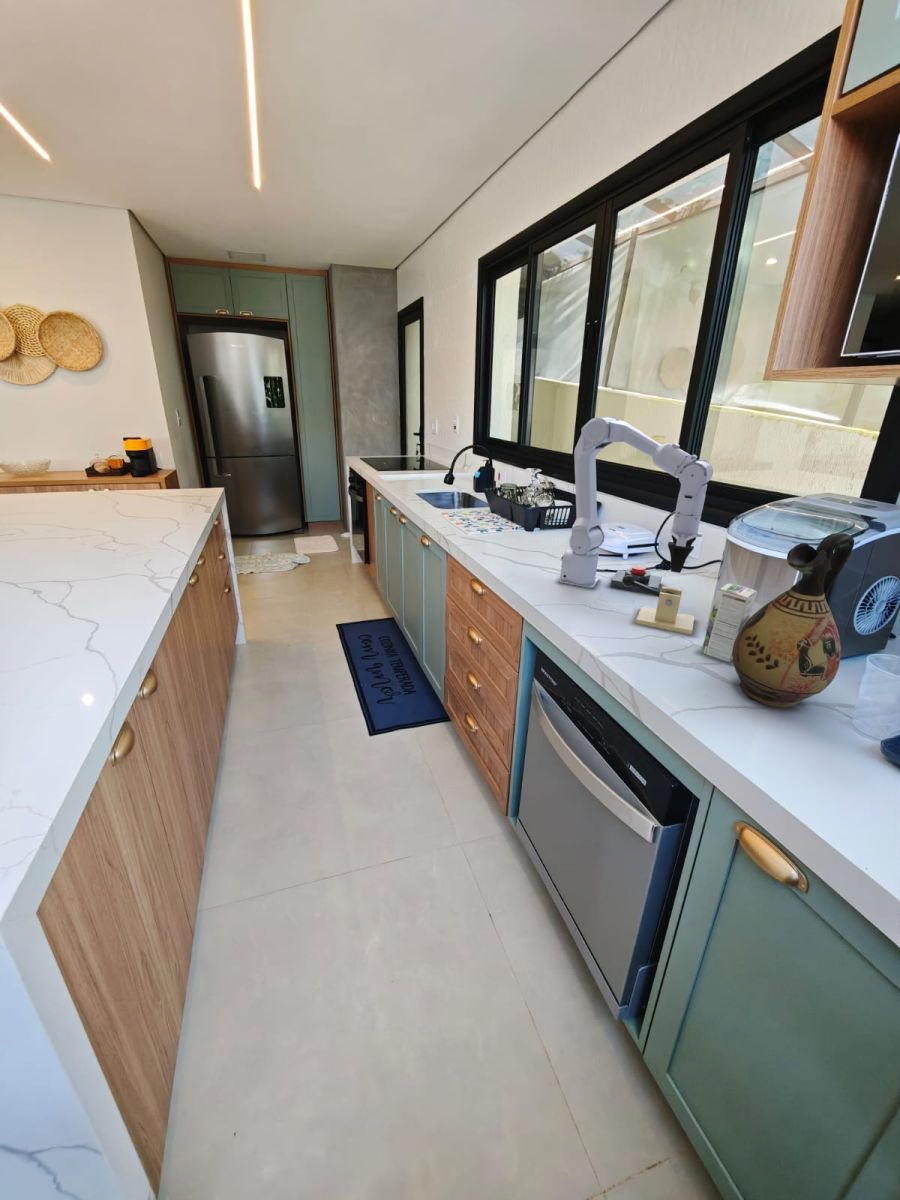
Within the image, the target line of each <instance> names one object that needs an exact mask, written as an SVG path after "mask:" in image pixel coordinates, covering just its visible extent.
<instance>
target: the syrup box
mask: <svg viewBox="0 0 900 1200" xmlns="http://www.w3.org/2000/svg"><path fill="white" fill-rule="evenodd" d="M757 594H758V591H757V590H755V589H752V588H749V587H746V586H744V585H738V584H734V583H727V584H725V585H724V586H723V587H721V588H719V589H718V590H717V591H716V595H715V599H714V601H713V602H714V603H713V606H712V611H711V614H710V618H709V621H708V625H707V629H706V634H705V636H704V640H703V643H702V647H701V651H700V652H701V654H704V655H706V656H709V657H712V658H715V659H718V660H721V661H724V662H728V663H731V662H733V656H732V651H733V645H734V642H735V639H736V637H737V635H738V634H739V632H740V631H741V629H742V628H743V626H744V625H745V623H746V622H747V621H748V620H749V619H750V617H751V616H752V612H753V608H754V603H755V602H756V598H757Z"/></svg>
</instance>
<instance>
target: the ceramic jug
mask: <svg viewBox="0 0 900 1200" xmlns="http://www.w3.org/2000/svg"><path fill="white" fill-rule="evenodd" d="M854 546H855V539H854V538H853V536H852V535H850V534H848V533H844V532H842V533H835V532H834V533H831V534H829V535H827V536H825V537H824V538H823V539H822V540H821V541H820V542H819V544H818V545H817V547H816V548H815V547H813V546H811V545H810V544H809V543H806V542H800V543H799V544H796V545H794V546H793V547H792V548H791V549H789V551H788V552H787V555H786V562H787V565H788V566H790V568H792V569H794V570H795V571H798V572H800V573H801V574H802V575H801V578H800V580H798V581H796V583H795V584H793V585H792V586H791V587H790V588H789V589H788V590H785V591H784V592H782V593H780V594H779V595H777V596H776V597H775V598H774V599H772V600H770V601H769V602H767V603H766V604H765V605H764V606H763V605H762V607H760V608H759V609H758V610H757V611H756V612H754V613H753V614H752V615H751V616H750V619H749V620H748V621H747V622H746V623H745V625H744V626H743V628H742V629H741V631H740V632H739V634H738V635H737V637H736V639H735V642H734V645H733V651H732V656H733V660H732V663H733V667H734V670H735V672H736V675H737V676H738V679H739V680H740V682H739V684H738V685H739V688H740V689H741V691H742V693H743V694H744V695H745V696H746V697H747V698H748V699H751V700H754V701H757V702H758V703H761V704H763V705H766V706H769V707H772V708H780V709H786V708H793V707H795V706H796V705H798V704H799V703H800V702H802V701H805V700H807V699H809V698H811V697H814V696H816V695H819V694H821V692H823V691H824V690H825V689H827V688H828V686H830V685H831V683H832V682H833V681H834V680H835V677H836V676H837V673H838V670H839V667H840V663H841V657H842V647H841V639H840V635H839V630H838V628H837V624H836V622H835V619H834V616H833V613H832V610H831V608H830V606H829V605H828V602H827V599H826V598H827V597H828V593H829V591H830V588H831V587H832V586H833V584H834V582H835V580H836V578H837V577H838V576H839V574H840V573H841V572H842V571H843V568H844V566H845V564H846V563H847V562H848V560H849V558H851V555H852V551H853V549H854V548H855V547H854Z"/></svg>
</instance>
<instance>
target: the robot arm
mask: <svg viewBox="0 0 900 1200" xmlns="http://www.w3.org/2000/svg"><path fill="white" fill-rule="evenodd" d="M580 432H581V434H580V436H579V438H578V441H577V444H576V445H575V447H574V451H573V457H574V458H573V459H574V485H575V507H576V508H575V510H576V511H575V513H576V518H575V521H574V523H573V525H572V527H571V535H570V537H569V540H568V541H569V542H568V544H569V547H570V549H565V550H564V552H563V555H562V558H561V559H562V560H561V568H560V577H559V583H561V584H566V585H571V586H578V587H582V588H587V589H594V587H595V586H596V585H597V583H598V582H599V580H600V579H599V578H597V577H596V576H597V571H598V562H599V555H600V547H601V546H602V545H603V544H604V542H605V532H604V530H603V528H602V521H601V519H600V518H599V517H598V503H597V502H598V501H597V499H598V498H597V464H596V463H597V462H596V461H597V458H596V457H597V456H598V455H599V454H600V453H601V452H602V451H603V449H605V448H606V447H607V446H610V445H611V444H613V443H625V444H627V445H629V446H631V447H632V448H635V449H637V450H638V451H641V452H642V453H644V454H647V455H648V456H650V457H651V458H652V461H653V465H654V466H656V467H657V468H659V469H660V470H662V471H664V472H665V473H667V474H669V475H670V476H672V477H674V478H676V479H678V480H679V483H680V487H679V492H678V495H677V496H678V497H677V501H676V507H675V511H674V517H673V521H672V526H671V529H670V532H669V533H670V534H671V539H672V541H668V543H667V547H668V550H669V554H670V555H669V556H670V572H672V573H678V574H679V573H681V572H682V570H683V568H684V565H685V563H686V560H687V559H688V557H689V555H690V554H691V553H692V552H693V550H695V549H694V548H695V546H694V545H693V543H694V542H695V541H696V540H697V538H702V537H703V534H704V533H703V532H700V531H699V527H700V522H701V519H702V513H703V510H704V504H705V500H706V493H707V490H708V489H707V488H708V482H709V481H710V480H711V479H712V477H713V475H714V468H713V466H712V465H711V464H710V463H709V462H708V461H707V459H698V456H697V455H696V454H692V455H691V454H689V453H688V452H686V451H684V449H681V448H680V446H681V445H680V444H678V443H676V442H674V443H673V444H672V443H671V442H667V443H664V444H661V443H659V442H658V441H656V440H654V439H653V438H651V437H650V436H649V435H647V434H645V433H644V432H642V431H641V430H639V429H638V428H636V427H634V426H633V425H631V424H630V423H628V422H627V421H624V420H620V419H619V418H617V417H615V416H607V417H593V418H591V419H590V420H588V421H587V422H586V423H585V424H584V425H583V426H582V427H581V429H580Z"/></svg>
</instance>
